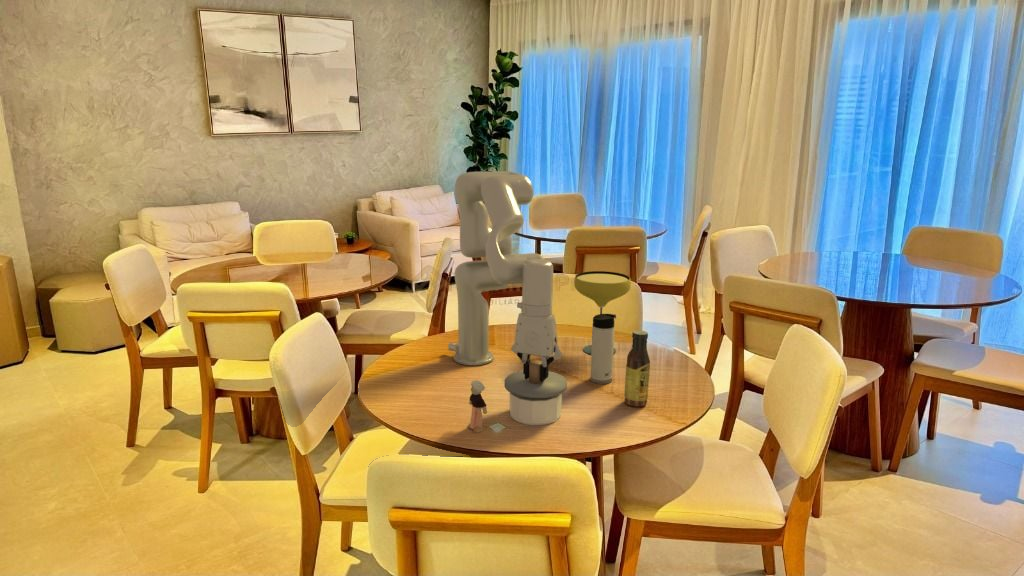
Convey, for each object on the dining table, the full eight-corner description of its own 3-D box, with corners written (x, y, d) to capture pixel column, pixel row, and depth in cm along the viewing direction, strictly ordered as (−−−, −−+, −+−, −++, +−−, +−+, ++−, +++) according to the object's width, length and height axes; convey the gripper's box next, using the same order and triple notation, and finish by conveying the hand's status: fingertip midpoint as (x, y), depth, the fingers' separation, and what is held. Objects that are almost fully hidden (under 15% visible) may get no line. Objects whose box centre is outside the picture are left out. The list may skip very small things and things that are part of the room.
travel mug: (612, 385, 191) (615, 318, 186) (589, 383, 192) (592, 316, 188) (613, 377, 197) (616, 312, 192) (591, 375, 198) (593, 310, 194)
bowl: (501, 419, 168) (502, 395, 167) (521, 400, 180) (522, 378, 178) (550, 429, 163) (550, 404, 162) (567, 409, 175) (568, 386, 173)
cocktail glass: (594, 338, 233) (597, 268, 227) (637, 350, 220) (642, 277, 214) (561, 350, 220) (563, 276, 214) (605, 364, 208) (608, 286, 202)
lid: (496, 393, 165) (496, 370, 163) (514, 371, 180) (515, 349, 178) (559, 401, 160) (559, 377, 159) (572, 378, 175) (573, 355, 173)
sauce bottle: (642, 409, 175) (646, 338, 170) (620, 404, 178) (623, 333, 173) (651, 401, 180) (655, 331, 175) (629, 396, 183) (633, 327, 179)
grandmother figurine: (460, 426, 164) (460, 378, 161) (472, 421, 167) (472, 374, 164) (481, 436, 159) (481, 387, 156) (493, 431, 162) (493, 383, 159)
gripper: (500, 309, 165) (500, 378, 169) (563, 317, 158) (561, 389, 163) (512, 301, 171) (511, 368, 176) (573, 309, 165) (571, 378, 169)
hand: (535, 377), depth 169 cm, fingers closed on lid, 3 cm apart
